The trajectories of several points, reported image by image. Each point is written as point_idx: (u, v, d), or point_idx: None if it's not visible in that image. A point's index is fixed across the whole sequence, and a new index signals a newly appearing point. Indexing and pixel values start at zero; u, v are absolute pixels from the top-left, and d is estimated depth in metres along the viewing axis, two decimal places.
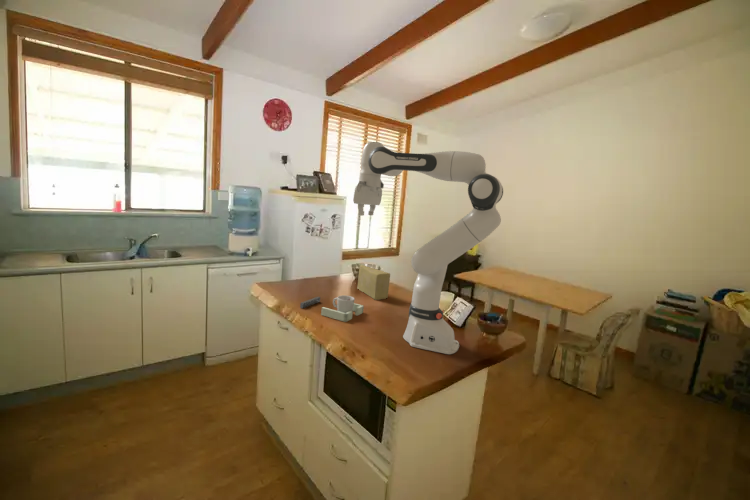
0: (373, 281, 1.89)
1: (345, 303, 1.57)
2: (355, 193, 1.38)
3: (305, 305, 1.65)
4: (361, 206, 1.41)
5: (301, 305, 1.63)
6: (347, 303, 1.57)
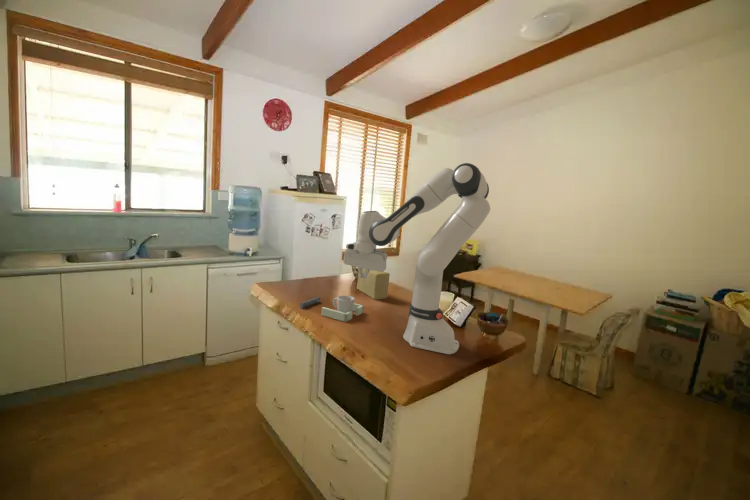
0: (372, 281, 1.89)
1: (345, 303, 1.57)
2: (384, 262, 1.49)
3: (305, 305, 1.65)
4: (369, 270, 1.54)
5: (301, 305, 1.63)
6: (347, 303, 1.57)
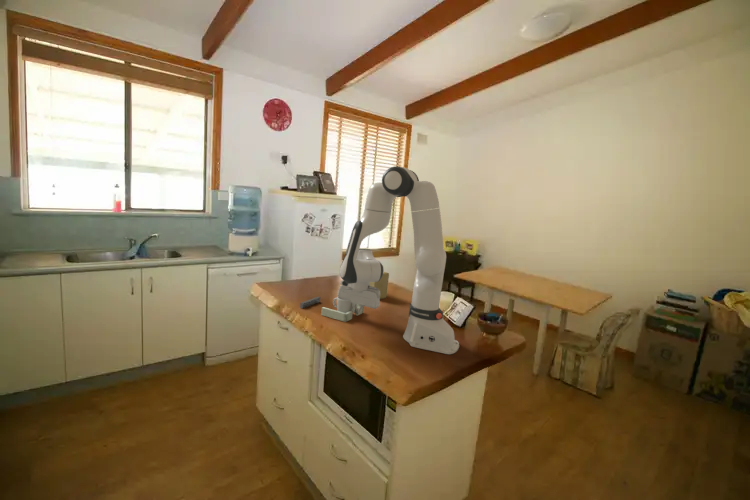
0: None
1: (345, 303, 1.57)
2: (377, 300, 1.52)
3: (305, 305, 1.65)
4: (363, 306, 1.57)
5: (301, 305, 1.63)
6: (347, 303, 1.57)
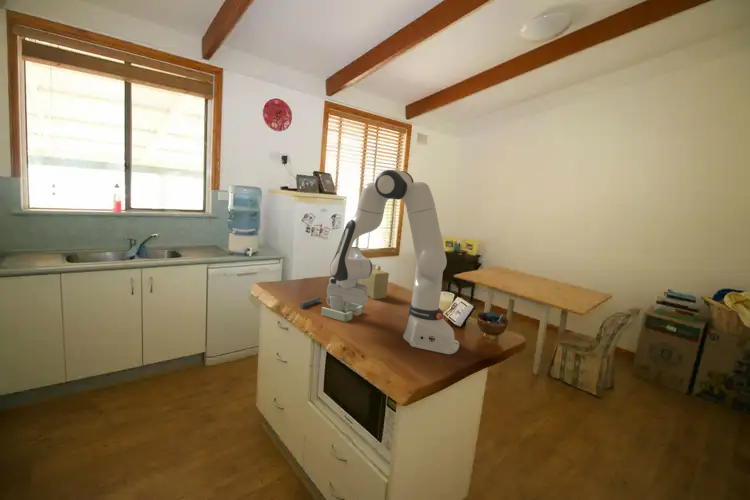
0: (372, 281, 1.90)
1: (336, 299, 1.58)
2: (365, 297, 1.55)
3: (305, 305, 1.65)
4: (350, 303, 1.60)
5: (301, 305, 1.63)
6: (338, 299, 1.58)
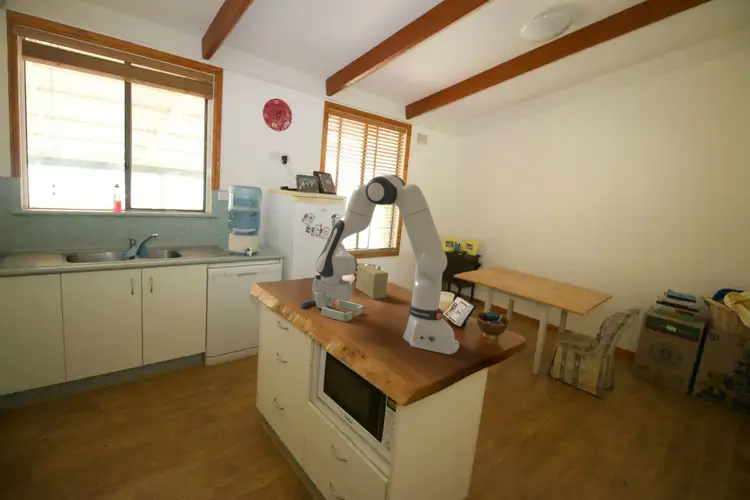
0: (371, 280, 1.90)
1: (320, 295, 1.62)
2: (348, 293, 1.58)
3: (305, 305, 1.65)
4: (335, 299, 1.64)
5: (301, 305, 1.63)
6: (322, 295, 1.62)
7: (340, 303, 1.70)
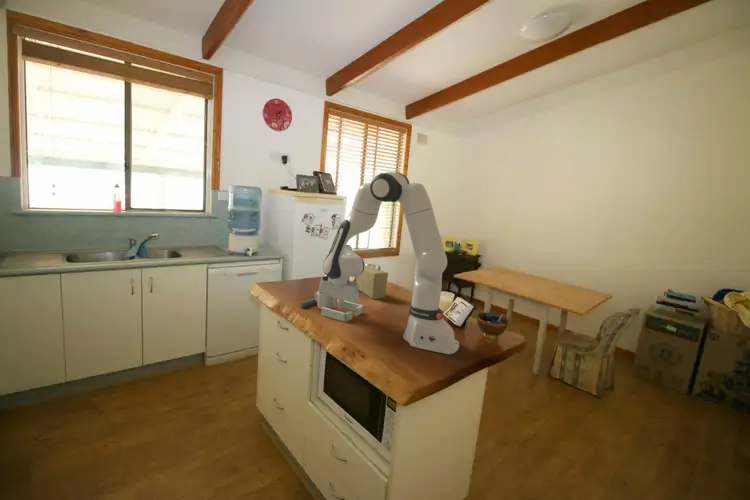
0: (371, 280, 1.90)
1: (323, 297, 1.62)
2: (356, 294, 1.57)
3: (305, 305, 1.65)
4: (343, 300, 1.62)
5: (301, 305, 1.63)
6: (325, 297, 1.62)
7: None
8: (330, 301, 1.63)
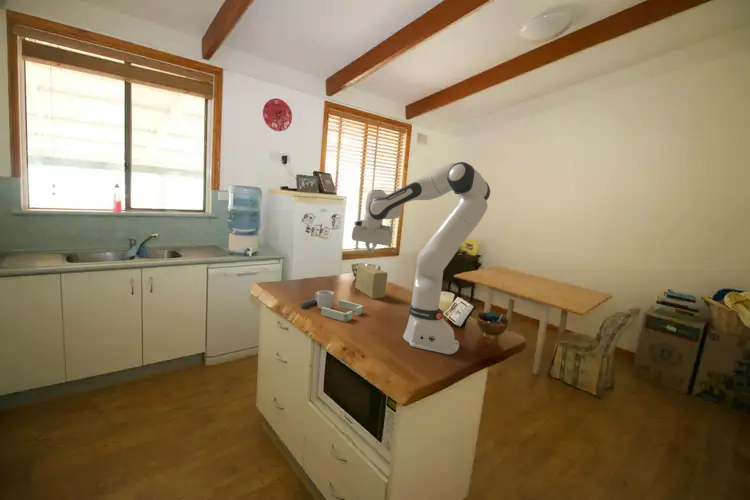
0: (370, 280, 1.91)
1: (323, 297, 1.62)
2: (389, 237, 1.63)
3: (305, 305, 1.65)
4: (376, 245, 1.68)
5: (301, 305, 1.63)
6: (325, 297, 1.62)
7: (340, 303, 1.70)
8: (330, 301, 1.63)
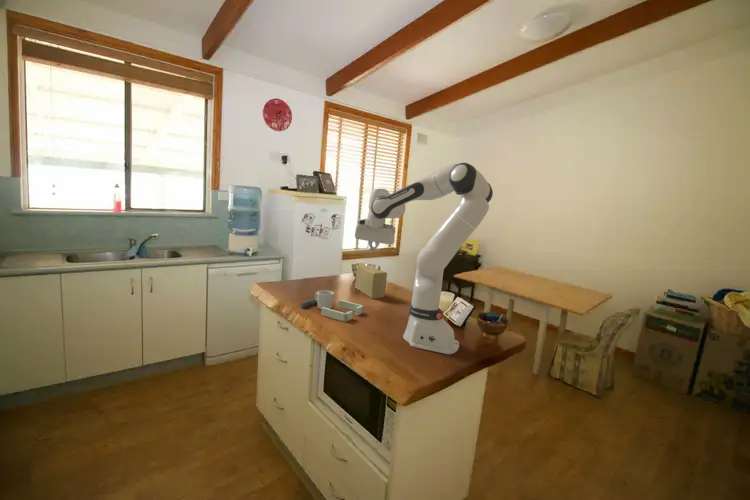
0: (370, 280, 1.91)
1: (323, 297, 1.62)
2: (392, 236, 1.64)
3: (305, 305, 1.65)
4: (378, 244, 1.69)
5: (301, 305, 1.63)
6: (325, 297, 1.62)
7: (340, 303, 1.70)
8: (330, 301, 1.63)
